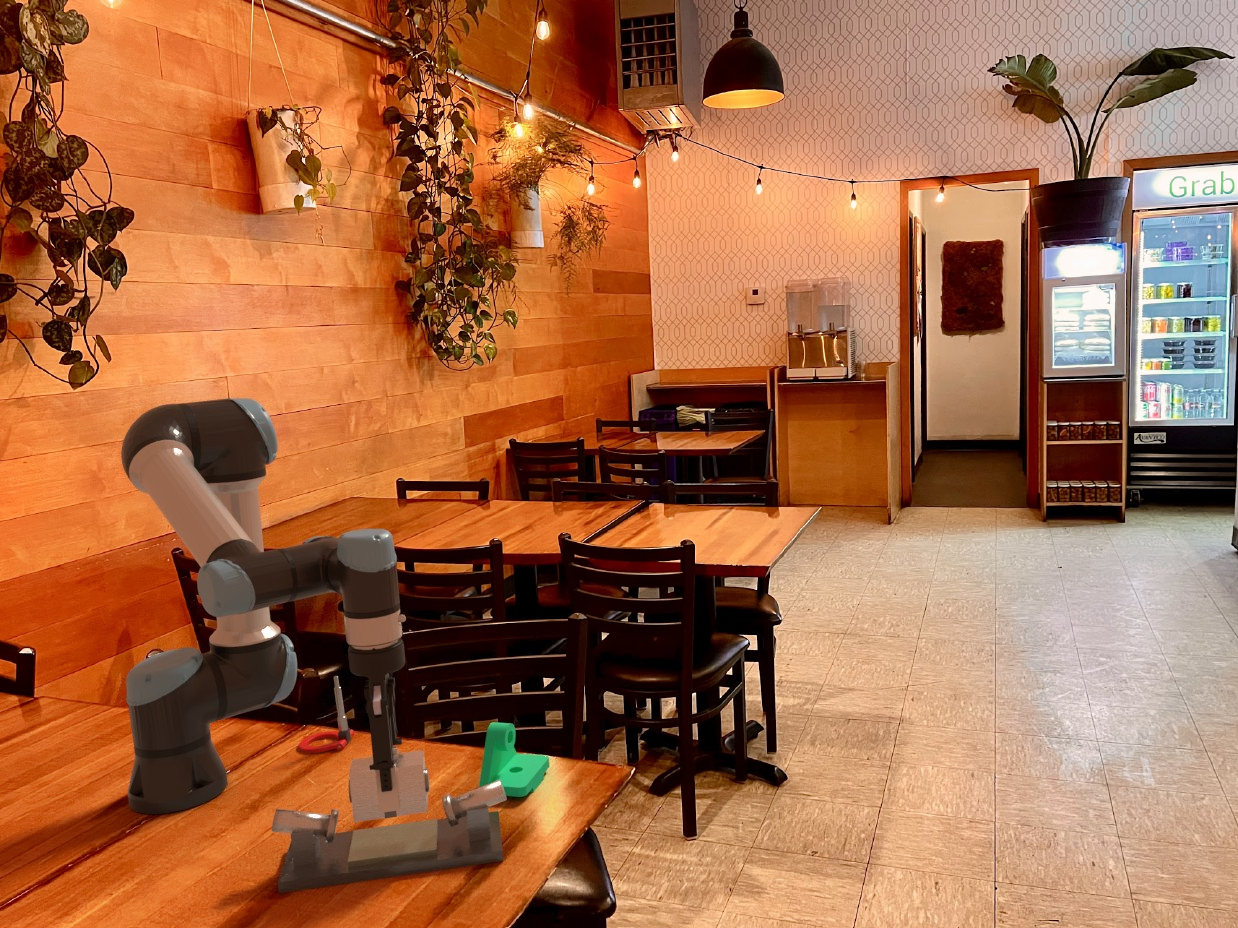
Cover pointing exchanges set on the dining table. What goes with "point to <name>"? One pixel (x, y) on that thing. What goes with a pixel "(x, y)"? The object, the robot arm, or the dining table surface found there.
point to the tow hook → (342, 735)
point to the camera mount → (510, 762)
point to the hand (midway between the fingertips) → (390, 800)
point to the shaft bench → (390, 843)
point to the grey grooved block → (408, 780)
